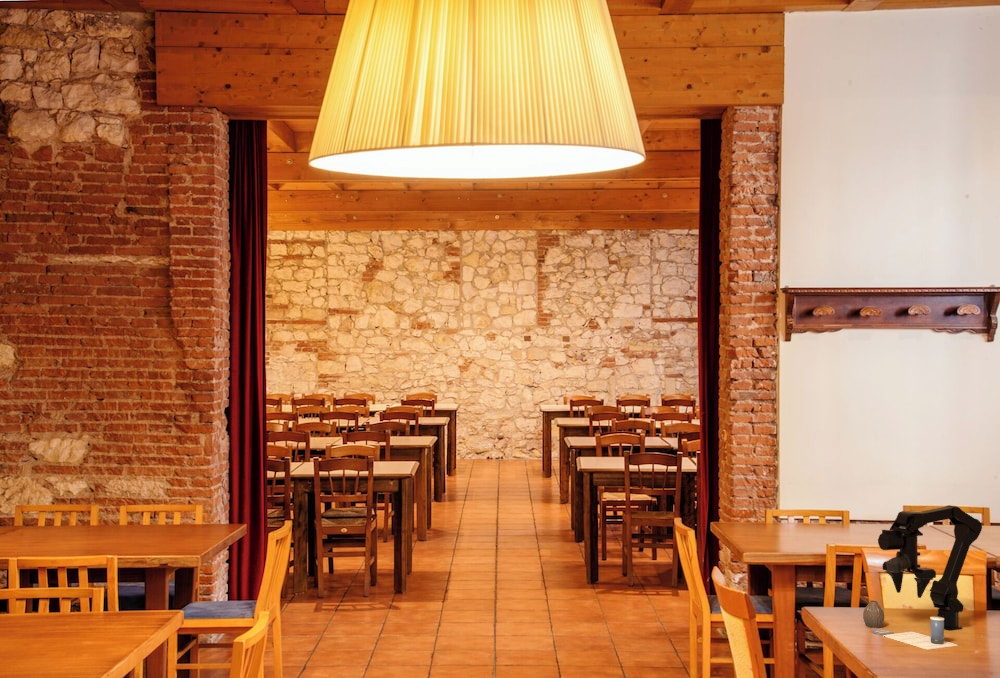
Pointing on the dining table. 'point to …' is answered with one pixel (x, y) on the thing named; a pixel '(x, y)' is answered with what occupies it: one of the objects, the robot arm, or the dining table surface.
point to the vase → (873, 615)
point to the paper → (918, 640)
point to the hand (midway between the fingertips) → (908, 595)
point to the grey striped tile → (882, 632)
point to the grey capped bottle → (937, 630)
